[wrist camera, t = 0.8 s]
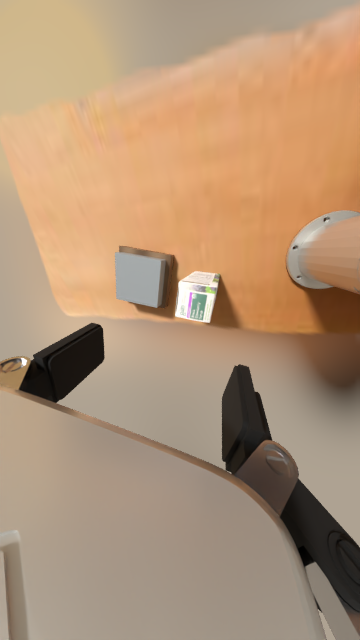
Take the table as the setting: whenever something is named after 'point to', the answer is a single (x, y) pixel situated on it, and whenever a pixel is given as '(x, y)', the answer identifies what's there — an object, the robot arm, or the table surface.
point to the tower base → (168, 268)
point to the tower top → (139, 279)
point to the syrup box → (197, 296)
